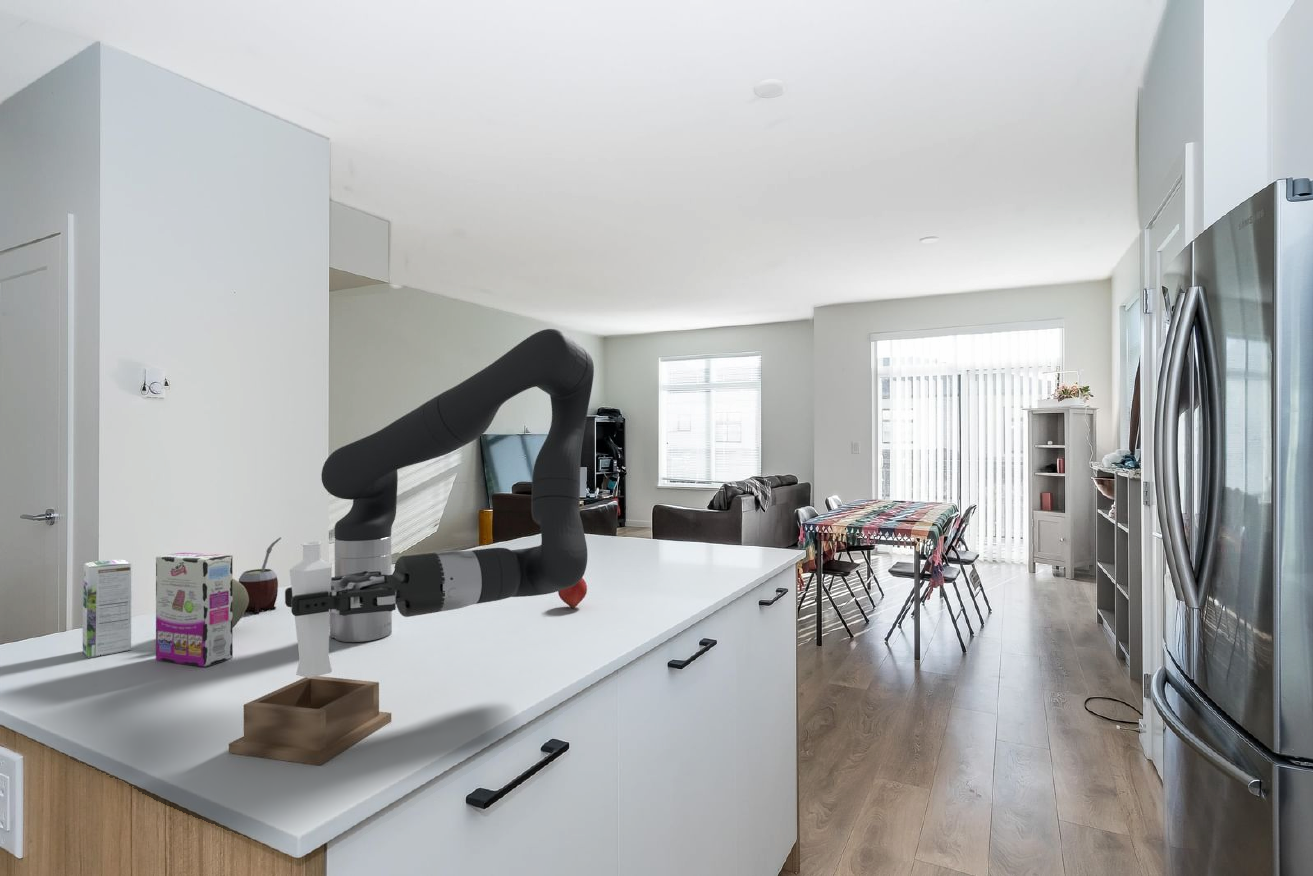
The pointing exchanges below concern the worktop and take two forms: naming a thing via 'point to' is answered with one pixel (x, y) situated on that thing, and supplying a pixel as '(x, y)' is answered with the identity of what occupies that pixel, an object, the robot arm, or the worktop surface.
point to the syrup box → (107, 607)
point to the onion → (574, 593)
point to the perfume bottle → (312, 627)
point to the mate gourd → (261, 586)
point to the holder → (310, 720)
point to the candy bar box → (194, 608)
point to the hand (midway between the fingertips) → (289, 601)
